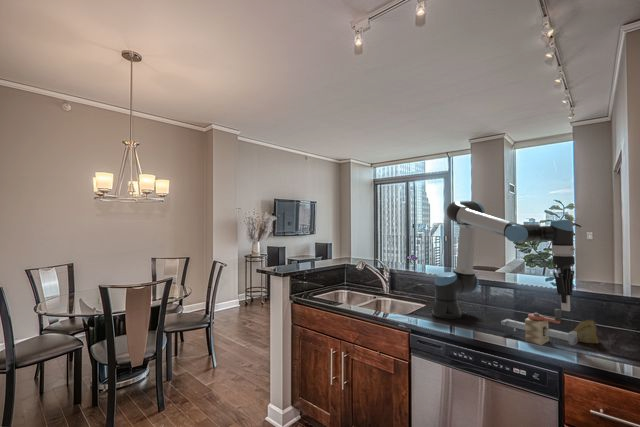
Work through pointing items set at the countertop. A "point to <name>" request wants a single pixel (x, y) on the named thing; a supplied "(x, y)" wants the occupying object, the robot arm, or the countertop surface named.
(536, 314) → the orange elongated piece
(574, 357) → the countertop surface
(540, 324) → the eye block
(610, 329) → the countertop surface
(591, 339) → the rock
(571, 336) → the hook bar
